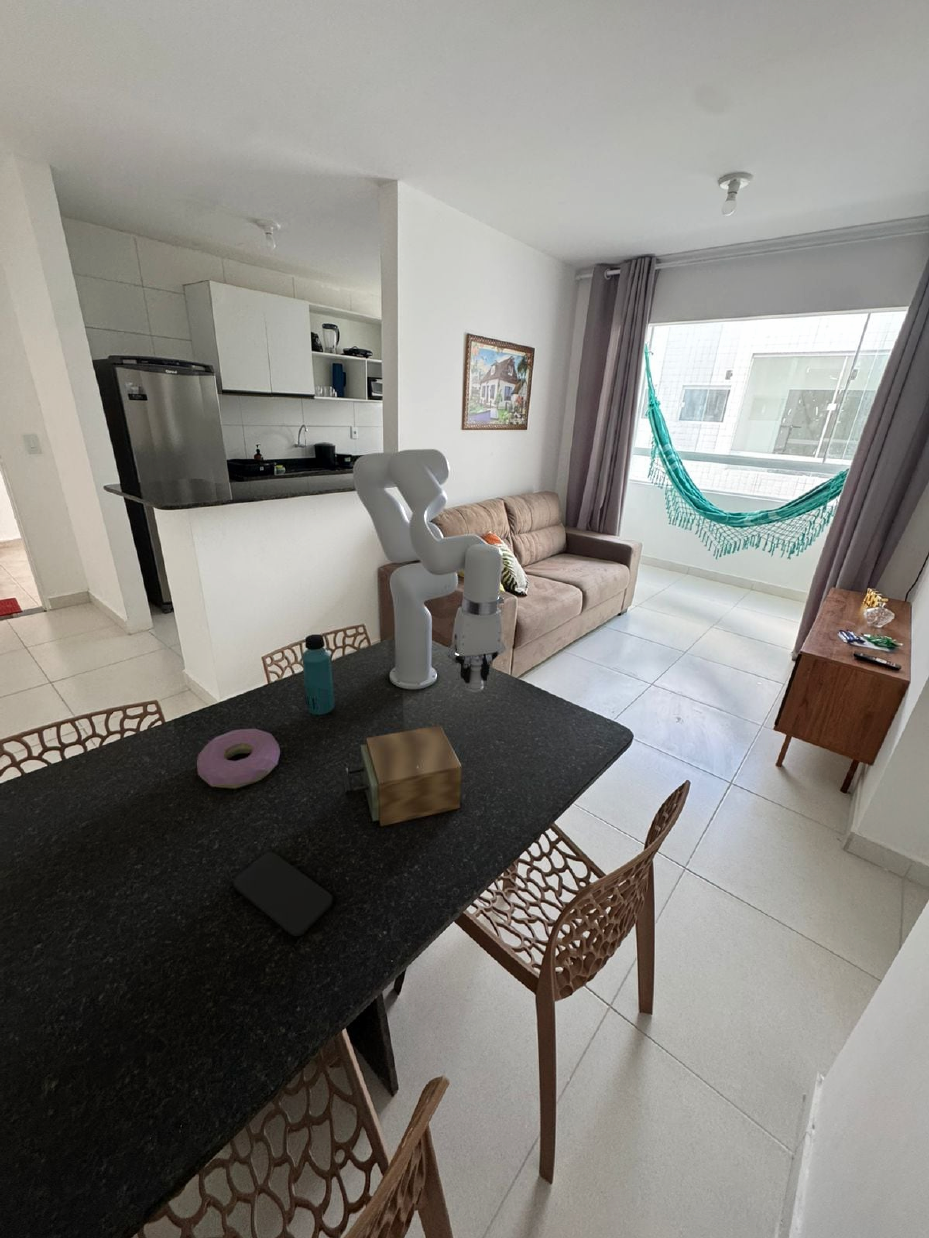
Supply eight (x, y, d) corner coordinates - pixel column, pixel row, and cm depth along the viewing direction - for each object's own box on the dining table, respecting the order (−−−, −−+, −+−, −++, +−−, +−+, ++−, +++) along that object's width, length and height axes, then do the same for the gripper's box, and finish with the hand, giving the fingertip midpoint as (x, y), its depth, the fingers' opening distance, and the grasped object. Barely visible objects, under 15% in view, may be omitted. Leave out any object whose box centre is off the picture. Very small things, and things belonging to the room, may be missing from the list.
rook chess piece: (460, 690, 114) (462, 659, 111) (468, 681, 118) (470, 650, 115) (479, 695, 113) (482, 664, 109) (486, 686, 117) (489, 655, 113)
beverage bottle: (339, 706, 124) (333, 631, 116) (329, 722, 118) (323, 644, 110) (312, 703, 124) (305, 629, 116) (302, 719, 118) (294, 642, 110)
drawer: (348, 826, 89) (346, 791, 85) (340, 782, 98) (337, 749, 95) (446, 804, 94) (447, 770, 91) (429, 764, 104) (429, 732, 101)
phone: (296, 936, 71) (229, 881, 78) (296, 940, 71) (230, 885, 78) (335, 897, 76) (270, 849, 84) (336, 900, 77) (270, 852, 84)
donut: (237, 736, 112) (234, 717, 110) (296, 753, 107) (294, 734, 105) (179, 782, 98) (175, 761, 96) (244, 804, 94) (240, 782, 92)
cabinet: (380, 826, 90) (379, 782, 86) (367, 778, 101) (366, 738, 97) (459, 807, 95) (461, 766, 91) (439, 764, 106) (440, 725, 102)
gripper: (509, 594, 112) (501, 666, 120) (437, 600, 107) (434, 675, 115) (523, 607, 106) (514, 682, 114) (448, 615, 101) (444, 693, 109)
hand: (474, 678), depth 114 cm, fingers closed on rook chess piece, 3 cm apart
